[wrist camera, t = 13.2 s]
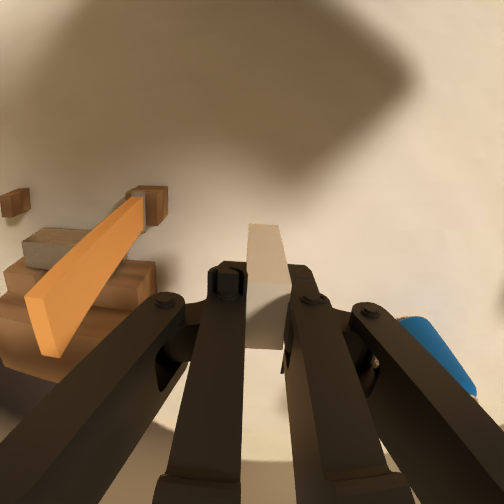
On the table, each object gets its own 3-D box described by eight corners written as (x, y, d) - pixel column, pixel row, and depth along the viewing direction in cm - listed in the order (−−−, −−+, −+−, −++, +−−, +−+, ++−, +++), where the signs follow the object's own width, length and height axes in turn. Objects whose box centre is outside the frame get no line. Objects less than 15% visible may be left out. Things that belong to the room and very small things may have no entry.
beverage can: (377, 368, 32) (412, 453, 21) (373, 323, 30) (417, 412, 19) (429, 349, 31) (475, 425, 20) (429, 304, 29) (489, 380, 18)
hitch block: (18, 186, 25) (-45, 212, 16) (167, 186, 25) (127, 216, 17) (41, 316, 30) (-1, 364, 22) (172, 337, 31) (150, 403, 22)
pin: (44, 227, 26) (20, 241, 22) (126, 231, 26) (107, 248, 23) (76, 370, 33) (63, 392, 29) (144, 384, 33) (135, 409, 29)
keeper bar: (19, 288, 8) (43, 290, 8) (133, 189, 22) (146, 189, 22) (41, 361, 9) (64, 364, 9) (134, 229, 23) (147, 229, 23)
